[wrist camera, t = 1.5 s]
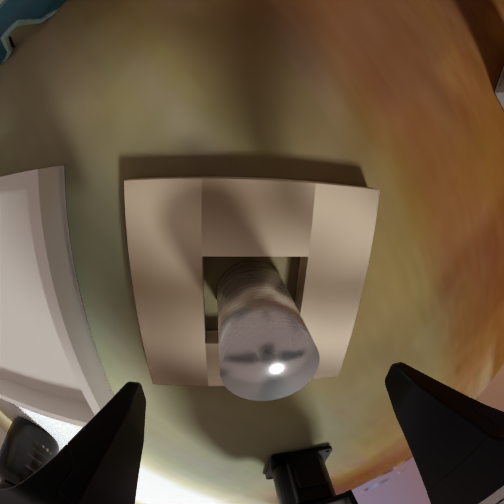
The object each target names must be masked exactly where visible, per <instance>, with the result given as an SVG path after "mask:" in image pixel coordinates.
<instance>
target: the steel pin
mask: <svg viewBox="0 0 504 504" xmlns="http://www.w3.org/2000/svg"><path fill="white" fill-rule="evenodd" d="M217 304H218V340H219V365H220V377H221V380H222V382H223V384H224V386H225V387H226V388H227V389H228V390H229V391H230V392H232V393H233V394H235V395H237V396H239V397H241V398H244V399H248V400H253V401H270V400H276V399H280V398H283V397H286V396H289V395H291V394H293V393H295V392H297V391H298V390H300V389H301V388H303V387H304V386H305V385H306V384H307V383H308V382H309V381H310V380H311V379H312V378H313V376H314V375H315V373H316V371H317V369H318V366H319V361H320V356H319V351H318V349H317V347H316V345H315V343H314V341H313V339H312V337H311V335H310V333H309V331H308V329H307V327H306V325H305V323H304V321H303V319H302V317H301V315H300V313H299V311H298V309H297V307H296V305H295V303H294V301H293V299H292V297H291V295H290V293H289V291H288V289H287V288H286V286H285V284H284V282H283V280H282V278H281V276H280V274H279V273H278V272H277V271H276V270H275V269H274V268H273V267H272V266H270V265H268V264H266V263H263V262H259V261H246V262H242V263H239V264H237V265H235V266H233V267H231V268H230V269H229V270H227V271H226V273H225V274H224V275H223V276H222V278H221V280H220V282H219V284H218V289H217Z"/></svg>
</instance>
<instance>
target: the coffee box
mask: <svg viewBox="0 0 504 504" xmlns="http://www.w3.org/2000/svg"><path fill="white" fill-rule="evenodd" d="M495 94H496V96H497V98H498V100H499V102H500V104H501V106H502V108H503V110H504V66H503V69H502V72H501V75H500V78H499V81H498V83H497V86H496V89H495Z"/></svg>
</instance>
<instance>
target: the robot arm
mask: <svg viewBox="0 0 504 504" xmlns="http://www.w3.org/2000/svg"><path fill="white" fill-rule="evenodd" d="M385 385H386V388H387V391H388V394H389V397H390V400H391V403H392V406H393V409H394V412H395V415H396V417H397V420H398V422H399V424H400V426H401V429H402V431H403V433H404V436H405V438H406V440H407V443H408V445H409V447H410V450H411V452H412V455H413V457H414V459H415V462H416V465H417V467H418V469H419V472H420V475H421V477H422V480H423V482H424V485H425V488H426V490H427V494H428V496H429V499H430V502H431V504H504V412H503V411H500V410H497V409H495V408H492V407H490V406H487V405H485V404H482V403H480V402H478V401H476V400H474V399H472V398H469V397H468V396H466V395H464V394H462V393H460V392H458V391H456V390H454V389H452V388H450V387H448V386H446V385H444V384H443V383H441V382H439V381H437V380H435V379H433V378H431V377H429V376H427V375H425V374H423V373H421V372H420V371H418V370H416V369H414V368H412V367H410V366H408V365H406V364H404V363H402V362H399V363H395V364H392V365H391V367H390V369H389V372H388V374H387V376H386V378H385ZM145 410H146V399H145V395H144V392H143V389H142V386H141V384H140V383H138V382H128V383H126V384H125V385H124V386H123V387H122V388H121V389H120V391H119V392H118V393H117V394H116V395H115V396H114V397H113V398H112V399H111V400H110V401H109V402H108V403H107V404H106V405H105V406H104V407H103V408H102V409H101V410H100V411H99V412H98V413H97V414H96V415H95V416H94V417H93V418H92V419H91V420H90V421H89V422H88V423H87V424H86V425H85V426H84V427H83V428H82V429H81V430H80V431H79V432H78V433H77V434H76V435H75V436H74V437H73V438H72V439H71V440H70V441H69V442H68V445H65V446H64V447H63V448H62V449H61V450H60V451H59V452H58V453H57V454H56V455H55V456H54V457H53V458H52V459H51V460H50V461H48V462H47V463H46V464H45V465H44V466H42V467H41V468H40V469H38V470H37V471H36V472H34V473H33V474H32V475H30V476H29V477H28V478H26V479H25V480H24V481H22V482H21V483H19V484H18V485H16V486H14V487H11V488H7V489H0V504H135V496H136V489H137V481H138V474H139V468H140V461H141V455H142V449H143V442H144V426H145ZM331 451H332V447H331V446H326V447H321V448H316V449H311V450H305V451H299V452H293V453H286V454H279V455H273V456H271V457H270V460H269V464H268V468H267V472H266V479H274V484H275V488H276V493H277V498H278V502H279V504H358V503H357V501H356V499H355V497H354V495H353V493H352V491H351V490H348V491H346V492H345V493H342V494H339V495H336V494H335V491H334V488H333V485H332V482H331V479H330V477H329V474H328V471H327V468H326V465H325V461H326V459H327V458H328V456H329V454H330V453H331Z"/></svg>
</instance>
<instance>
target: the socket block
mask: <svg viewBox="0 0 504 504" xmlns="http://www.w3.org/2000/svg"><path fill="white" fill-rule="evenodd" d="M379 192H380V190H378V189H374V188H370V187H365V186H356V185H347V184H338V183H328V182H317V181H304V180H290V179H273V178H251V177H152V178H132V179H128V180H125V181H124V197H125V217H126V231H127V242H128V252H129V261H130V270H131V277H132V285H133V291H134V298H135V304H136V310H137V315H138V321H139V326H140V331H141V336H142V341H143V345H144V350H145V354H146V358H147V362H148V366H149V370H150V374H151V378H152V382H153V384H159V385H178V386H224V384H223V382H222V380H221V377H220V365H219V340H218V331H206V326H205V303H204V271H203V256H209V257H300V264H299V272H298V280H297V288H296V296H295V305H296V307H297V309H298V311H299V313H300V315H301V317H302V319H303V321H304V323H305V325H306V327H307V329H308V331H309V333H310V335H311V337H312V339H313V341H314V343H315V345H316V347H317V349H318V351H319V356H320V361H319V366H318V369H317V371H316V373H315V375H314V376H313V378H312V379H319V378H325V377H332V376H338V375H339V372H340V369H341V366H342V363H343V360H344V357H345V354H346V350H347V347H348V344H349V340H350V337H351V333H352V330H353V326H354V323H355V319H356V315H357V311H358V307H359V303H360V299H361V295H362V291H363V286H364V282H365V277H366V273H367V268H368V263H369V258H370V252H371V247H372V241H373V235H374V229H375V223H376V216H377V209H378V201H379Z"/></svg>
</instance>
